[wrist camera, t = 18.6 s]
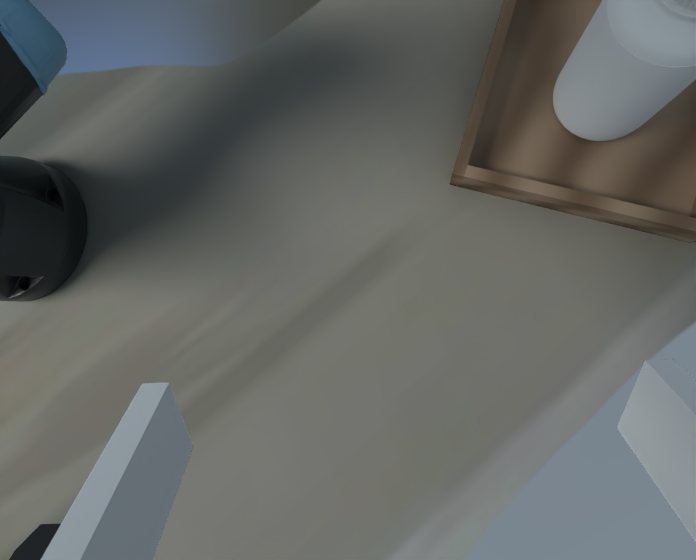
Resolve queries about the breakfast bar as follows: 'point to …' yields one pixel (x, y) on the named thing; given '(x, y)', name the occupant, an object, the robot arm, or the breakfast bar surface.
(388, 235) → the breakfast bar surface
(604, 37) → the pill bottle
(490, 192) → the tray
